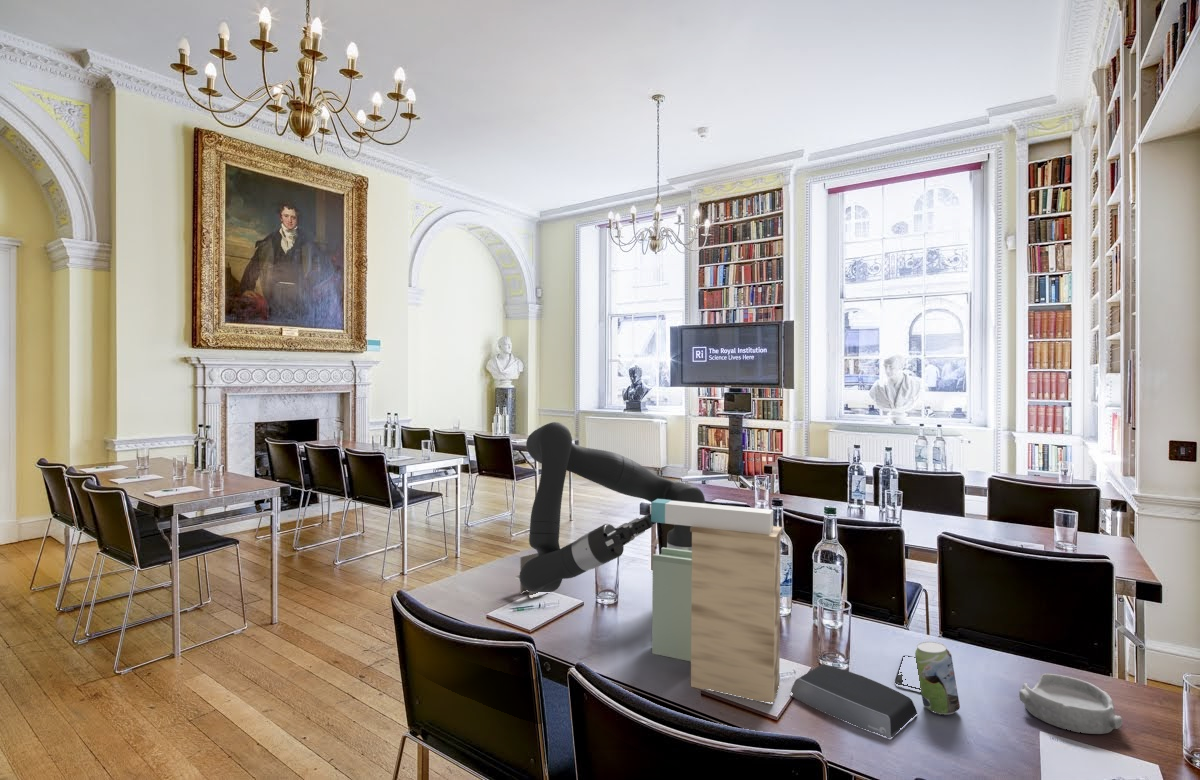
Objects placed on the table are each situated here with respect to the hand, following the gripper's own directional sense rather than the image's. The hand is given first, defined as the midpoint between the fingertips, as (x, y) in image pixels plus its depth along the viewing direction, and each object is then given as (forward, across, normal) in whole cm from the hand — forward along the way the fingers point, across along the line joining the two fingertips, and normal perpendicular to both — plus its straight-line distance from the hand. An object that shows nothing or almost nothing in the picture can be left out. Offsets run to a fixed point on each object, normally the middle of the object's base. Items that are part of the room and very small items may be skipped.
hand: (657, 517), depth 125 cm
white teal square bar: (+9, 0, +6) cm, 11 cm away
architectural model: (-58, +29, +5) cm, 65 cm away
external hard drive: (+16, +4, +48) cm, 51 cm away
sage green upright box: (-15, +11, +29) cm, 35 cm away
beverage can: (+28, +9, +55) cm, 62 cm away
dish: (+47, +17, +66) cm, 83 cm away
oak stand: (-2, +1, +36) cm, 36 cm away
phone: (+27, +22, +54) cm, 64 cm away
